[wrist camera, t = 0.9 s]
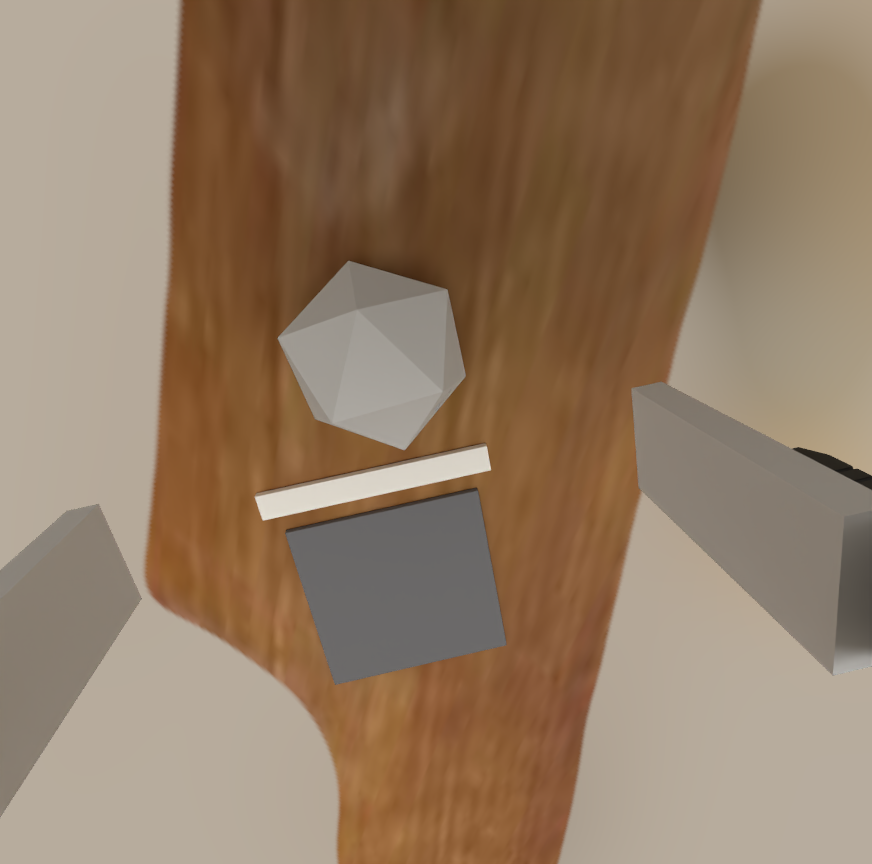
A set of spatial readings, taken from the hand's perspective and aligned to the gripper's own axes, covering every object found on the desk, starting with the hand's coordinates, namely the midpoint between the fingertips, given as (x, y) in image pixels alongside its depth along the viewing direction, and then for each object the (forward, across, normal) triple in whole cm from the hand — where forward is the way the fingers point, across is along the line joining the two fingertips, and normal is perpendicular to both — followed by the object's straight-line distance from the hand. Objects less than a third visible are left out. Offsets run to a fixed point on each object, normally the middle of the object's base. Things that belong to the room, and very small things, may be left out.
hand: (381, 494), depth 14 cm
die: (+19, 0, 0) cm, 19 cm away
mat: (+19, -2, -15) cm, 24 cm away
